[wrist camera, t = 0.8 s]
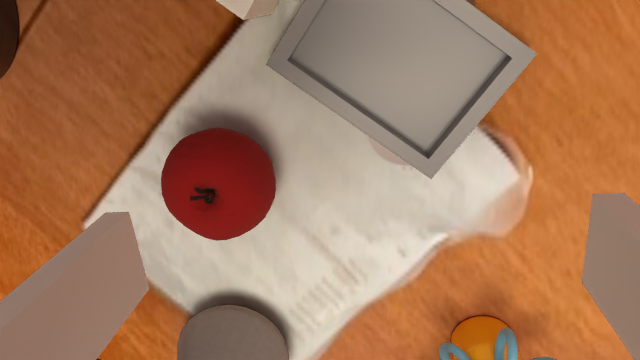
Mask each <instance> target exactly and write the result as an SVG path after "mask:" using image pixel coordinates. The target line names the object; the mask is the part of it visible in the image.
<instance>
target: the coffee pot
mask: <svg viewBox="0 0 640 360" xmlns="http://www.w3.org/2000/svg"><path fill="white" fill-rule="evenodd" d="M96 360H101V359H98V358H97V359H96ZM177 360H289V355H288V351H287V347H286V343H285V340H284V338H283V337H282V335H281V333H280V331H279V330H278V328H277V327H276V326H275V325H274V324H273V323H272V322H271V321H270V320H269V319H267V318H266V317H264V316H263V315H261V314H260V313H258V312H256V311H253V310H251V309H248V308H246V307H242V306H235V305H220V306H215V307H212V308H209V309H206V310H203V311H201V312H199V313H198V314H197V315H195V316H194V317H192V318H191V319H190V320H189V321H188V322H187V323H186V325H185V326H184V327H183V329H182V330H181V333H180V337H179V340H178V348H177Z"/></svg>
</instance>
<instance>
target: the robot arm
mask: <svg viewBox="0 0 640 360" xmlns="http://www.w3.org/2000/svg"><path fill="white" fill-rule="evenodd" d="M17 41H18V16H17V10H16V5H15V1H14V0H0V78H1V77H2V76H3V74H4V73H5V72H6V71H7V69H8V67H9V66H10V64H11V62H12V60H13V57H14V54H15V51H16V47H17ZM582 283H583V285H584V286H585V288H586V289H587V291H588V292H589V294H590V295H591V297H592V298H593V299H594V301H595V302H596V304H597V305H598V307H599V308H600V310H601V311H602V313H603V314H604V316H605V317H606V319H607V320H608V322H609V323H610V325H611V326H612V327H613V329H614V330H615V332H616V333H617V335H618V336H619V338H620V339H621V341H622V342H623V344H624V345H625V347H626V348H627V350H628V351H629V352H630V354H631V355H632V357H633V358H634V360H640V206H639V205H638V204H637V203H635V202H634V201H633V200H632V199H631V198H630V197H628V196H627V195H626V194H625V193H604V194H593V197H592V205H591V213H590V221H589V229H588V237H587V245H586V253H585V261H584V269H583V277H582ZM148 290H149V286H148V282H147V278H146V274H145V270H144V267H143V263H142V259H141V255H140V252H139V248H138V244H137V240H136V237H135V233H134V229H133V225H132V221H131V218H130V214H129V212H112V213H105V214H103V215H102V216H101V217H100V218H99V219H97V220H96V221H95V222H94V223H93V224H91V225H90V226H89V227H88V228H87V229H86V230H84V231H83V232H82V233H81V234H80V235H78V236H77V237H76V238H75V239H74V240H73V241H71V242H70V243H69V244H68V245H67V246H65V247H64V248H63V249H62V250H61V251H59V252H58V253H57V254H56V255H55V256H54V257H52V258H51V259H50V260H49V261H48V262H46V263H45V264H44V265H43V266H42V267H40V268H39V269H38V270H37V271H36V272H35V273H33V274H32V275H31V276H30V277H29V278H27V279H26V280H25V281H24V282H23V283H21V284H20V285H19V286H18V287H17V288H16V289H14V290H13V291H12V292H11V293H10V294H8V295H7V296H6V297H5V298H4V299H2V300H1V301H0V360H96V359H97V358H98V357H99V355H100V354H101V353H102V351H103V350H104V349H105V347H106V346H107V345H108V343H109V342H110V341H111V339H112V338H113V337H114V335H115V334H116V333H117V331H118V330H119V329H120V327H121V326H122V325H123V323H124V322H125V321H126V319H127V318H128V317H129V315H130V314H131V313H132V311H133V310H134V309H135V307H136V306H137V305H138V303H139V302H140V301H141V299H142V298H143V297H144V295H145V294H146V293H147V291H148Z"/></svg>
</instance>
